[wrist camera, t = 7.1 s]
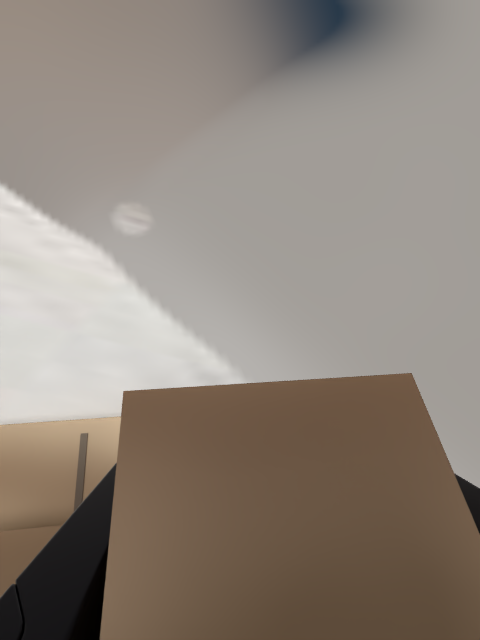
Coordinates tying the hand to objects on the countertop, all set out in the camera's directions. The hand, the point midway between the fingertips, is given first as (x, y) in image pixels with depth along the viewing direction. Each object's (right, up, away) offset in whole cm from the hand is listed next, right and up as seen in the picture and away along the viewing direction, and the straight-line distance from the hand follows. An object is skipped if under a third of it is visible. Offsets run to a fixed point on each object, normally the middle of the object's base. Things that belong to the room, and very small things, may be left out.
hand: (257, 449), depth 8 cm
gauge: (-5, -6, +4) cm, 8 cm away
